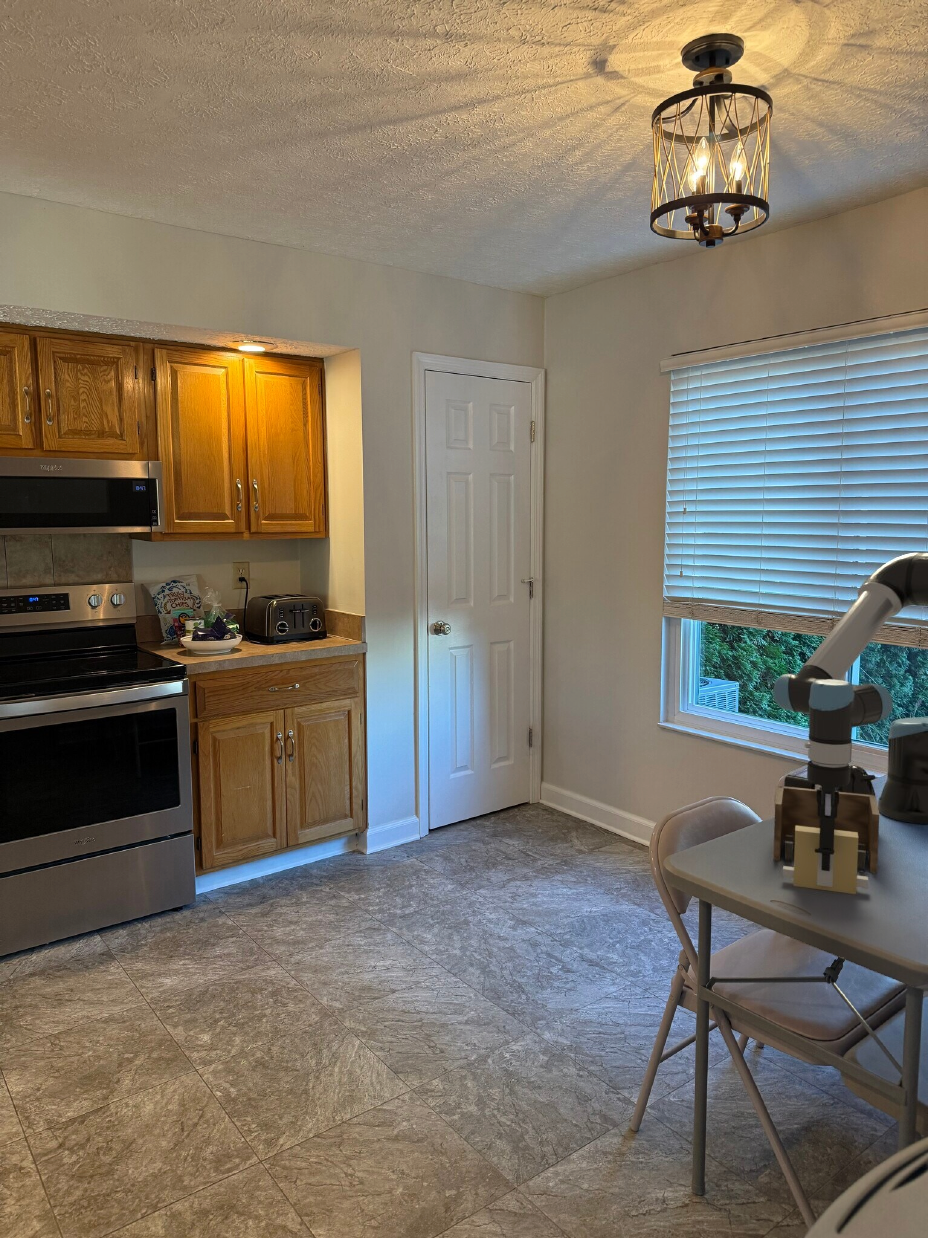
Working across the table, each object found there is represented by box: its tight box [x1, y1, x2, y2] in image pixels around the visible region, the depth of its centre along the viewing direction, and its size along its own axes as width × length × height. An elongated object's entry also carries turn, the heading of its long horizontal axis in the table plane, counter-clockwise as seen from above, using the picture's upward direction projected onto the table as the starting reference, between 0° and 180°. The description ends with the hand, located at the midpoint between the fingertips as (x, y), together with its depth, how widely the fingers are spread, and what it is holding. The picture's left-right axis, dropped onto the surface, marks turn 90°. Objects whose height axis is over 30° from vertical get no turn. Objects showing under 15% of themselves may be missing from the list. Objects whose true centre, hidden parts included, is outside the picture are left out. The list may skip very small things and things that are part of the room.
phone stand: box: [783, 774, 815, 789], centre depth 196 cm, size 9×6×12 cm, turn 140°
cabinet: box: [773, 785, 880, 874], centre depth 180 cm, size 19×13×12 cm
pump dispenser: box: [835, 764, 878, 802], centre depth 194 cm, size 10×10×15 cm
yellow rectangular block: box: [782, 826, 869, 895], centre depth 164 cm, size 15×3×11 cm, turn 68°
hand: (824, 881), depth 165 cm, fingers closed on yellow rectangular block, 3 cm apart
